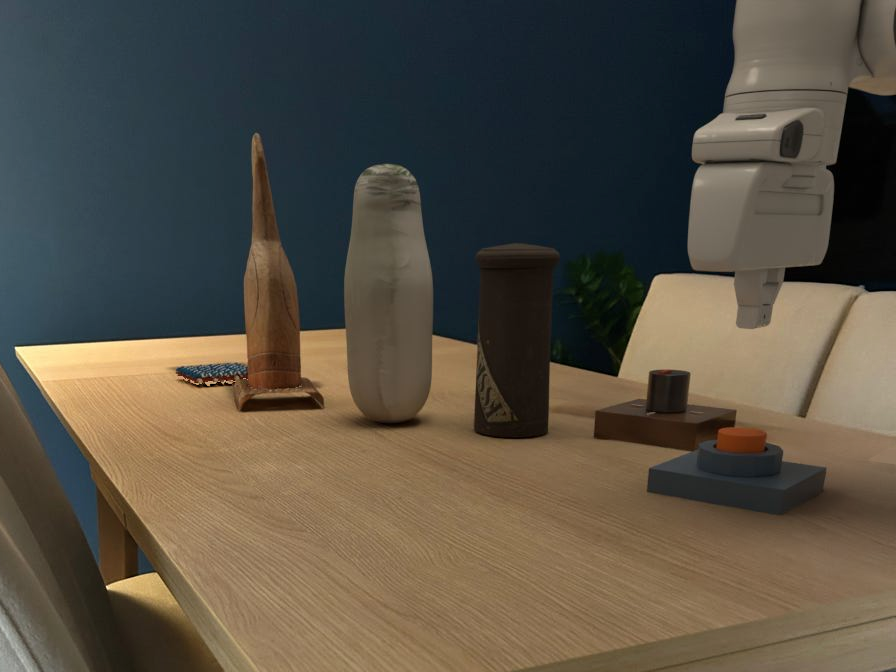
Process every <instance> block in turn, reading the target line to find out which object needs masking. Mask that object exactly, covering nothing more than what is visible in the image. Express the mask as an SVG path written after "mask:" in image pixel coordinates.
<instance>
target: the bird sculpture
mask: <svg viewBox="0 0 896 672" xmlns="http://www.w3.org/2000/svg"><path fill="white" fill-rule="evenodd" d="M250 153H251V173H252V174H251V175H252V211H251V212H252V226H251V227H252V229H251V231H252V232H251V244H250V248H249V252H248V253H249V254H248V258H247V263H246V270H245V273H244V276H243V301H244V303H243V304H244V319H245V321H244V322H245V323H244V324H245V337H246V357H247V358H246V359H247V366H248V380H247V379H239V380H237V381H236V382H235V383H233V386H232V390H233V391H232V392H233V397H234V401H235V404H236V406H237V409H238V410H239V411H241V409H242V408H243V406H244V405H245V404H246V402H247V401H248V400H250V399H252V398H253V397H254V396H258V395H264V394H291V393H305V394H308V395H310V397H312V398H313V399H314V400H315V401H317V402H318V403H319V404H320V405H321V406H322V407H323V408H325V399H324V396H323V395H322V394H321V392H320V391H319V390H318V389H317V387H315V385H314V384H313V382H312V381H311V380H310V379H309V378H308V377H304V376H303V377H302V361H301V360H302V359H301V325H300V321H301V320H300V308H299V297H298V288H297V287H298V286H297V282H296V280H295V276H294V272H293V270H292V267H291V264H290V262H289V260H288V257H287V255H286V252H285V249H284V248H283V246H282V241H281V237H280V234H279V230H278V229H279V228H278V225H277V219H276V213H275V212H276V211H275V207H274V204H273V203H274V201H273V195H272V190H271V186H270V184H271V183H270V179H269V173H268V170H267V169H268V168H267V162H266V155H265V152H264V147H263V143H262V137H261V136H260V134H259V133H258V132H255V133H254V135H253V136H252V139H251V152H250Z"/></svg>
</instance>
